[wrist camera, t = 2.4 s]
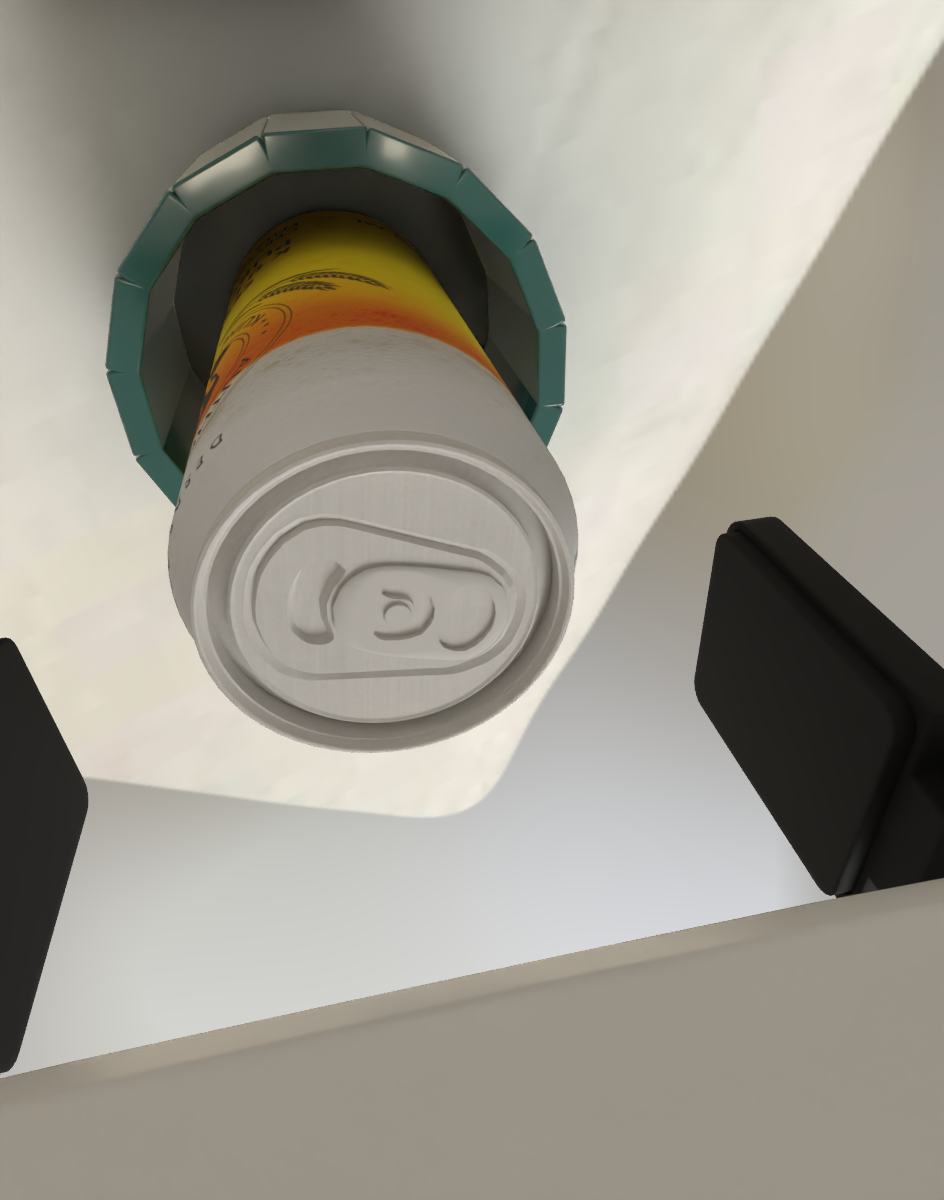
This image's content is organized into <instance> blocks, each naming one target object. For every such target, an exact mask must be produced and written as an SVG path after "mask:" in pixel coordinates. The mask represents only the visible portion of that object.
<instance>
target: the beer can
mask: <svg viewBox="0 0 944 1200" xmlns="http://www.w3.org/2000/svg"><path fill="white" fill-rule="evenodd" d="M577 551H578V529H577V519H576V513H575V509H574V504H573V500H572V496H571V494H570V491H569V488H568V486H567V483H566V481H565V478H564V476H563V474H562V472H561V471H560V469H559V467H558V465H557V463H556V462H555V460H554V458H553V457H552V455H551V454H550V452H549V450H548V449H547V447H546V446H545V444H544V443H543V441H542V440H541V438H540V437H539V435H538V434H537V432H536V431H535V429H534V427H533V426H532V424H531V423H530V421H529V420H528V418H527V417H526V415H525V414H524V412H523V411H522V409H521V407H520V406H519V404H518V403H517V401H516V400H515V398H514V397H513V395H512V394H511V392H510V391H509V389H508V388H507V386H506V384H505V383H504V381H503V380H502V378H501V377H500V375H499V374H498V372H497V371H496V369H495V368H494V366H493V364H492V363H491V361H490V360H489V358H488V357H487V355H486V354H485V352H484V351H483V349H482V348H481V346H480V345H479V343H478V341H477V340H476V338H475V337H474V335H473V334H472V332H471V331H470V329H469V328H468V326H467V325H466V323H465V321H464V320H463V318H462V317H461V315H460V314H459V312H458V311H457V309H456V308H455V306H454V305H453V303H452V302H451V300H450V298H449V297H448V295H447V294H446V292H445V291H444V289H443V288H442V286H441V285H440V283H439V282H438V280H437V279H436V277H435V275H434V274H433V272H432V271H431V269H430V268H429V266H428V265H427V263H426V262H425V260H424V259H423V258H422V256H421V255H420V254H419V252H418V251H417V250H416V249H415V248H414V247H413V246H412V245H411V243H410V242H409V241H407V240H406V239H405V238H404V237H403V236H402V235H400V234H399V233H398V232H396V231H395V230H393V229H392V228H390V227H389V226H387V225H385V224H383V223H382V222H380V221H378V220H376V219H373V218H370V217H367V216H365V215H362V214H357V213H353V212H348V211H338V210H327V211H317V212H310V213H306V214H303V215H299V216H296V217H294V218H292V219H289V220H287V221H285V222H283V223H281V224H280V225H278V226H276V227H275V228H273V229H272V230H270V231H269V232H268V233H267V234H266V235H264V236H263V237H262V238H261V239H260V240H259V241H258V242H257V243H256V244H255V245H254V246H253V248H252V249H251V250H250V252H249V253H248V255H247V256H246V257H245V259H244V261H243V263H242V265H241V267H240V268H239V271H238V273H237V276H236V278H235V281H234V285H233V288H232V292H231V296H230V300H229V304H228V308H227V312H226V315H225V319H224V323H223V327H222V331H221V335H220V339H219V342H218V346H217V350H216V354H215V358H214V362H213V366H212V369H211V373H210V377H209V381H208V385H207V389H206V393H205V397H204V400H203V404H202V408H201V412H200V416H199V420H198V424H197V427H196V431H195V435H194V439H193V443H192V447H191V451H190V454H189V458H188V462H187V466H186V470H185V474H184V478H183V481H182V485H181V489H180V493H179V497H178V501H177V505H176V508H175V512H174V516H173V520H172V524H171V529H170V534H169V545H168V570H169V578H170V583H171V588H172V593H173V597H174V600H175V603H176V606H177V608H178V611H179V614H180V616H181V618H182V620H183V622H184V624H185V626H186V628H187V630H188V632H189V633H190V635H191V636H192V638H193V639H194V641H195V644H196V647H197V650H198V653H199V655H200V658H201V660H202V662H203V664H204V666H205V668H206V670H207V672H208V673H209V675H210V676H211V678H212V679H213V681H214V682H215V683H216V685H217V686H218V688H219V689H220V690H221V691H222V692H223V693H224V694H225V696H226V697H227V698H228V699H229V700H230V701H231V702H232V703H233V704H234V705H235V706H237V707H238V708H239V709H240V710H241V711H242V712H244V713H245V714H246V715H247V716H249V717H250V718H252V719H253V720H255V721H256V722H258V723H259V724H261V725H263V726H264V727H266V728H268V729H270V730H272V731H274V732H276V733H278V734H280V735H283V736H285V737H287V738H290V739H292V740H295V741H298V742H301V743H305V744H308V745H311V746H315V747H320V748H325V749H330V750H336V751H345V752H358V753H378V752H393V751H401V750H408V749H413V748H418V747H422V746H427V745H431V744H434V743H437V742H441V741H444V740H447V739H450V738H452V737H455V736H457V735H460V734H462V733H465V732H467V731H469V730H471V729H473V728H475V727H477V726H479V725H481V724H483V723H484V722H486V721H488V720H489V719H491V718H493V717H494V716H496V715H497V714H499V713H500V712H502V711H503V710H504V709H506V708H507V707H508V706H510V705H511V704H512V703H514V702H515V701H516V700H517V699H518V698H519V697H520V696H521V695H523V694H524V693H525V692H526V691H527V690H528V689H529V688H530V687H531V686H532V685H533V683H534V682H535V681H536V680H537V679H538V678H539V677H540V675H541V674H542V673H543V671H544V670H545V669H546V667H547V666H548V665H549V663H550V662H551V660H552V658H553V657H554V655H555V653H556V652H557V650H558V648H559V646H560V644H561V641H562V639H563V637H564V635H565V632H566V629H567V626H568V623H569V619H570V616H571V611H572V605H573V599H574V572H575V566H576V560H577Z"/></svg>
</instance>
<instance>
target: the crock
mask: <svg viewBox="0 0 944 1200" xmlns="http://www.w3.org/2000/svg"><path fill="white" fill-rule="evenodd" d="M360 167H366V168H368V169H371V170H373V171H376V172H379V173H381V174H384V175H387V176H389V177H392V178H395V179H397V180H400V181H402V182H405V183H408V184H410V185H413V186H416V187H418V188H421V189H424V190H426V191H429V192H431V193H434V194H437V195H439V196H442V197H444V198H445V199H446V200H447V201H448V202H449V203H450V204H451V205H452V206H453V207H454V208H455V209H456V210H457V211H458V212H459V213H460V214H461V215H462V218H463V220H464V222H465V225H466V227H467V229H468V232H469V234H470V236H471V239H472V241H473V243H474V246H475V248H476V250H477V253H478V255H479V257H480V260H481V262H482V264H483V267H484V269H485V271H486V274H487V298H488V330H489V336H488V339H487V342H486V345H485V348H484V350H483V351H484V352H485V354H486V355H487V357H488V358H489V360H490V361H491V363H492V364H493V366H494V368H495V369H496V371H497V372H498V374H499V375H500V377H501V378H502V380H503V381H504V383H505V384H506V386H507V388H508V389H509V391H510V392H511V394H512V395H513V397H514V398H515V400H516V401H517V403H518V404H519V406H520V407H521V409H522V411H523V412H524V414H525V415H526V417H527V418H528V420H529V421H530V423H531V424H532V426H533V427H534V429H535V431H536V432H537V434H538V435H539V437H540V438H541V440H542V441H543V443H544V444H545V446H546V447H547V446H548V443H549V441H550V439H551V436H552V434H553V432H554V429H555V427H556V425H557V422H558V420H559V417H560V415H561V413H562V407H561V406H562V405H564V397H565V362H566V325H565V324H564V323H563V322H564V321H565V317H564V314H563V311H562V309H561V306H560V303H559V301H558V298H557V295H556V293H555V290H554V288H553V285H552V282H551V280H550V277H549V274H548V272H547V269H546V266H545V264H544V261H543V258H542V256H541V253H540V250H539V248H538V245H537V243H536V241H535V240H534V239H533V238H532V234H531V233H530V232H529V231H528V229H527V228H526V227H525V226H524V225H523V224H522V223H521V222H520V221H519V220H518V219H517V218H516V217H515V216H514V215H513V214H512V213H511V212H510V211H509V210H508V209H507V208H506V207H505V206H504V205H503V204H502V202H501V201H500V200H499V199H498V198H497V197H496V196H495V195H494V194H493V193H492V192H491V191H490V190H489V189H488V188H487V187H486V186H485V185H484V184H483V183H482V182H481V181H480V180H479V179H478V178H477V177H476V175H475V174H474V173H473V172H472V171H471V170H470V169H469V168H467V167H466V166H464V165H462V164H461V163H460V162H458V161H457V160H455V159H454V158H452V157H451V156H449V155H447V154H446V153H444V152H443V151H441V150H439V149H438V148H436V147H435V146H433V145H431V144H430V143H428V142H427V141H425V140H423V139H422V138H419V137H417V136H414V135H412V134H409V133H407V132H405V131H402V130H400V129H397V128H395V127H392V126H390V125H387V124H385V123H382V122H380V121H377V120H375V119H372V118H370V117H367V116H365V115H362V114H360V113H357V112H355V111H351V112H349V111H348V110H346V109H345V110H330V111H314V112H298V113H283V114H271V115H270V116H269V119H268V118H267V117H263V118H261V119H259V120H258V121H256V122H254V123H253V124H251V125H249V126H248V127H246V128H244V129H243V130H241V131H239V132H237V133H236V134H234V135H232V136H231V137H229V138H227V139H226V140H224V141H222V142H221V143H219V144H217V145H216V146H214V147H212V148H211V149H209V150H207V151H206V152H204V153H202V154H201V155H200V156H199V157H198V158H197V160H195V161H194V162H193V163H192V165H191V166H190V167H189V168H188V169H187V170H186V171H185V172H184V173H183V174H182V175H181V176H180V177H179V178H178V179H177V180H176V182H175V183H174V184H173V185H172V186H171V187H170V188H169V189H168V190H167V191H166V192H165V194H164V195H163V197H162V199H161V200H160V202H159V203H158V205H157V207H156V208H155V210H154V211H153V213H152V215H151V216H150V218H149V219H148V221H147V223H146V224H145V226H144V227H143V229H142V231H141V232H140V234H139V235H138V237H137V239H136V240H135V242H134V243H133V245H132V247H131V248H130V250H129V251H128V253H127V255H126V256H125V258H124V259H123V261H122V263H121V264H120V266H119V267H118V271H117V272H118V274H117V275H116V277H115V278H114V284H113V294H112V304H111V314H110V324H109V334H108V344H107V354H106V364H105V366H106V368H107V369H108V371H107V374H106V375H107V378H108V381H109V384H110V387H111V390H112V393H113V396H114V399H115V402H116V405H117V408H118V411H119V414H120V417H121V420H122V423H123V426H124V429H125V432H126V435H127V438H128V441H129V444H130V447H131V450H132V453H133V455H134V456H137V458H136V461H137V462H138V463H139V464H140V466H141V467H142V468H143V469H144V470H145V471H146V473H147V474H148V475H149V476H150V477H151V479H152V480H153V481H154V482H155V483H156V484H157V486H158V487H159V488H160V489H161V490H162V492H163V493H164V494H165V495H166V496H167V497H168V499H169V500H170V501H171V502H172V503H173V504H174V506H175V507H176V505H177V501H178V497H179V493H180V489H181V485H182V481H183V478H184V474H185V470H186V466H187V462H188V458H189V454H190V451H191V447H192V443H193V439H194V435H195V431H196V427H197V424H198V420H199V416H200V412H201V408H202V404H203V400H204V397H205V393H206V387H205V386H204V384H203V383H202V382H201V380H200V379H199V378H198V376H197V375H196V373H195V372H194V371H193V369H192V368H191V367H190V364H189V360H188V356H187V352H186V349H185V345H184V341H183V337H182V333H181V330H180V326H179V322H178V318H177V315H176V311H175V307H174V297H175V290H176V283H177V276H178V269H179V261H180V254H181V247H182V242H183V240H184V239H185V237H186V236H187V234H188V233H189V231H190V229H191V228H192V226H193V225H194V223H195V222H196V220H197V219H198V218H200V217H201V216H203V215H205V214H206V213H208V212H210V211H212V210H213V209H215V208H217V207H218V206H220V205H222V204H224V203H225V202H227V201H229V200H230V199H232V198H234V197H235V196H237V195H239V194H241V193H242V192H244V191H246V190H247V189H249V188H251V187H253V186H254V185H256V184H258V183H259V182H261V181H263V180H264V179H266V178H268V177H270V176H271V175H273V174H279V173H293V172H306V171H320V170H333V169H347V168H360Z"/></svg>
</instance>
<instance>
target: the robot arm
mask: <svg viewBox="0 0 944 1200" xmlns="http://www.w3.org/2000/svg"><path fill="white" fill-rule="evenodd" d="M694 683H695V691H696V695H697V698H698V701H699V703H700V705H701V706H702V708H703V709H704V711H705V713H706V714H707V715H708V717H709V719H710V720H711V722H712V723H713V724H714V726H715V728H716V729H717V731H718V733H719V734H720V736H721V737H722V739H723V740H724V742H725V743H726V745H727V747H728V748H729V750H730V751H731V753H732V754H733V756H734V757H735V759H736V761H737V762H738V764H739V765H740V767H741V768H742V770H743V771H744V773H745V774H746V776H747V778H748V779H749V781H750V782H751V784H752V785H753V787H754V788H755V790H756V791H757V793H758V795H759V796H760V798H761V799H762V801H763V802H764V803H765V805H766V807H767V808H768V810H769V811H770V813H771V815H772V816H773V818H774V819H775V821H776V822H777V824H778V826H779V827H780V829H781V830H782V832H783V833H784V835H785V836H786V838H787V839H788V841H789V843H790V844H791V845H792V847H793V849H794V850H795V852H796V853H797V855H798V856H799V858H800V859H801V861H802V863H803V864H804V865H805V867H806V869H807V870H808V872H809V873H810V875H811V876H812V878H813V879H814V881H815V883H816V884H817V886H818V887H819V888H820V889H821V890H822V891H823V892H824V893H825V894H827V895H830V896H831V895H835V896H836V899H831V900H825V901H820V902H815V903H810V904H805V905H800V906H795V907H790V908H786V909H781V910H776V911H771V912H766V913H762V914H757V915H752V916H747V917H743V918H738V919H733V920H728V921H723V922H719V923H714V924H709V925H704V926H700V927H694V928H690V929H686V930H680V931H676V932H671V933H666V934H661V935H656V936H652V937H647V938H642V939H637V940H632V941H627V942H623V943H618V944H614V945H608V946H603V947H599V948H594V949H589V950H585V951H580V952H575V953H571V954H566V955H561V956H557V957H552V958H547V959H542V960H538V961H533V962H528V963H524V964H519V965H514V966H510V967H505V968H500V969H496V970H491V971H486V972H482V973H477V974H472V975H467V976H463V977H458V978H454V979H450V980H445V981H439V982H435V983H430V984H426V985H421V986H417V987H412V988H407V989H402V990H398V991H393V992H388V993H384V994H379V995H375V996H370V997H366V998H360V999H356V1000H351V1001H346V1002H342V1003H337V1004H333V1005H328V1006H324V1007H319V1008H314V1009H310V1010H305V1011H300V1012H296V1013H292V1014H287V1015H282V1016H278V1017H273V1018H269V1019H264V1020H260V1021H255V1022H251V1023H246V1024H241V1025H237V1026H232V1027H228V1028H224V1029H219V1030H214V1031H209V1032H205V1033H200V1034H196V1035H191V1036H187V1037H183V1038H177V1039H173V1040H168V1041H164V1042H159V1043H155V1044H150V1045H146V1046H141V1047H136V1048H132V1049H127V1050H123V1051H119V1052H114V1053H109V1054H105V1055H100V1056H95V1057H91V1058H86V1059H82V1060H78V1061H73V1062H68V1063H64V1064H60V1065H56V1066H51V1067H47V1068H43V1069H39V1070H34V1071H30V1072H26V1073H22V1074H18V1075H13V1076H9V1077H5V1078H1V1079H0V1200H944V669H943V668H942V667H941V666H940V665H939V664H938V663H937V662H935V661H934V660H933V659H932V658H931V657H930V656H929V655H928V654H927V653H926V652H925V651H923V650H922V649H921V648H920V647H919V646H918V645H917V644H916V643H915V642H914V641H912V640H911V639H910V638H909V637H908V636H907V635H906V634H905V633H904V632H903V631H902V630H900V629H899V628H898V627H897V626H896V625H895V624H894V623H893V622H892V621H891V620H889V619H888V618H887V617H886V616H885V615H884V614H883V613H882V612H881V611H880V610H878V609H877V608H876V607H875V606H874V605H873V604H872V603H871V602H870V601H869V600H868V599H866V598H865V597H864V596H863V595H862V594H861V593H860V592H859V591H858V590H857V589H856V588H854V587H853V586H852V585H851V584H850V583H849V582H848V581H847V580H846V579H845V578H843V577H842V576H841V575H840V574H839V573H838V572H837V571H836V570H835V569H833V568H832V567H831V566H830V565H829V564H828V563H827V562H826V561H825V560H824V559H823V558H822V557H820V556H819V555H818V554H817V553H816V552H815V551H814V550H813V549H812V548H811V547H809V546H808V545H807V544H806V543H805V542H804V541H803V540H802V539H801V538H799V537H798V536H797V535H796V534H795V533H794V532H793V531H792V530H791V529H790V528H789V527H788V526H786V525H785V524H784V523H783V522H782V521H781V520H780V519H778V518H776V517H765V518H758V519H752V520H745V521H738V522H734V523H732V524H731V525H730V527H729V528H728V530H727V533H725V534H722V535H720V536H719V538H718V539H717V542H716V547H715V553H714V559H713V566H712V572H711V578H710V585H709V591H708V597H707V603H706V610H705V617H704V622H703V629H702V635H701V642H700V647H699V654H698V660H697V666H696V672H695V681H694ZM87 809H88V792H87V787H86V784H85V782H84V779H83V777H82V775H81V773H80V771H79V769H78V767H77V765H76V763H75V761H74V759H73V757H72V755H71V753H70V751H69V749H68V747H67V745H66V743H65V741H64V739H63V738H62V736H61V734H60V732H59V730H58V728H57V726H56V724H55V722H54V720H53V718H52V716H51V714H50V712H49V710H48V708H47V706H46V704H45V702H44V700H43V698H42V696H41V694H40V692H39V690H38V688H37V686H36V684H35V682H34V680H33V678H32V676H31V674H30V672H29V670H28V668H27V666H26V664H25V662H24V660H23V658H22V656H21V654H20V652H19V650H18V648H17V646H16V644H15V643H14V642H13V641H12V640H11V639H9V638H0V1073H3V1072H7V1071H9V1070H10V1069H11V1068H12V1067H13V1065H14V1063H15V1062H16V1060H17V1057H18V1054H19V1051H20V1048H21V1044H22V1041H23V1037H24V1034H25V1030H26V1027H27V1023H28V1019H29V1015H30V1012H31V1009H32V1005H33V1002H34V998H35V994H36V991H37V987H38V984H39V980H40V977H41V973H42V970H43V966H44V963H45V959H46V956H47V952H48V949H49V945H50V941H51V938H52V934H53V931H54V927H55V924H56V920H57V916H58V913H59V910H60V906H61V902H62V898H63V895H64V892H65V888H66V885H67V881H68V878H69V874H70V871H71V866H72V863H73V860H74V856H75V853H76V849H77V846H78V842H79V839H80V835H81V832H82V828H83V824H84V821H85V817H86V814H87Z"/></svg>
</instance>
